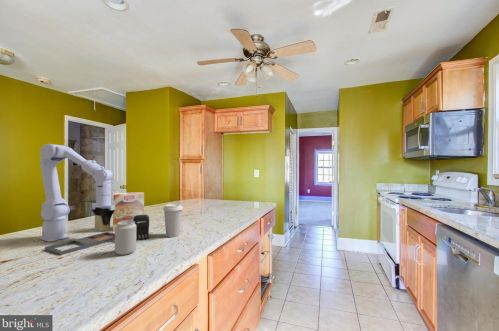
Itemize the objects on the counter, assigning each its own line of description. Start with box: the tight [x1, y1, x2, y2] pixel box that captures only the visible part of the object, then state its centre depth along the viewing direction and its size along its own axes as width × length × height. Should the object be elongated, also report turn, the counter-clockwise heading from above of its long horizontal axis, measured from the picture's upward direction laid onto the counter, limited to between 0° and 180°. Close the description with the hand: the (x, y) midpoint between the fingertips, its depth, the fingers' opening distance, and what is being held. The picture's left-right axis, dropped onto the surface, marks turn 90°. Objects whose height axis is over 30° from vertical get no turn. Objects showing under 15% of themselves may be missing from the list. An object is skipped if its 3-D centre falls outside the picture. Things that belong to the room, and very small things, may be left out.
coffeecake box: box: [112, 191, 145, 232], centre depth 127 cm, size 15×7×20 cm, turn 119°
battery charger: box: [133, 213, 150, 241], centre depth 108 cm, size 7×4×11 cm, turn 119°
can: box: [114, 221, 137, 256], centre depth 91 cm, size 8×8×12 cm
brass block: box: [94, 214, 111, 233], centre depth 108 cm, size 4×4×7 cm
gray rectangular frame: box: [44, 231, 115, 256], centre depth 102 cm, size 12×25×1 cm, turn 153°
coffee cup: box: [162, 203, 184, 238], centre depth 115 cm, size 10×10×15 cm
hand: (103, 224), depth 108 cm, fingers closed on brass block, 4 cm apart
